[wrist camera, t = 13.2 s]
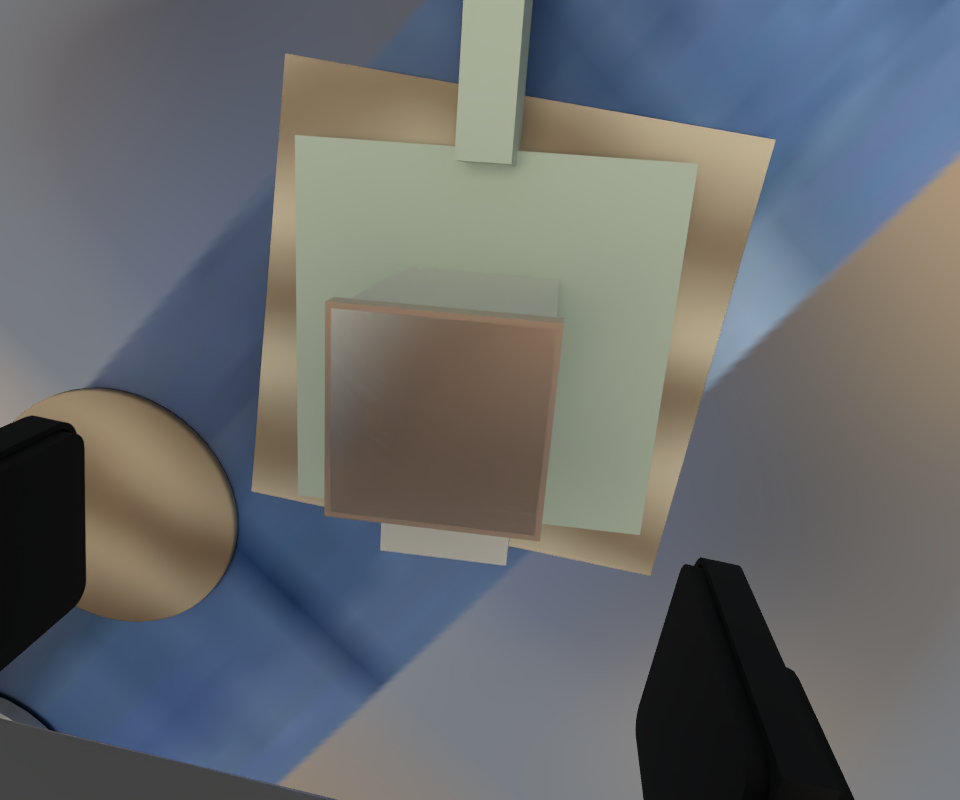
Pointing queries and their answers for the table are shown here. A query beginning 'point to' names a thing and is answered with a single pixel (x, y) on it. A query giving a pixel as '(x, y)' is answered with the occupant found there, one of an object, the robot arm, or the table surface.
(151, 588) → the mat
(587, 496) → the green piece
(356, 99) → the stand
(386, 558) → the table surface
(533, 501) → the box with copper trim
